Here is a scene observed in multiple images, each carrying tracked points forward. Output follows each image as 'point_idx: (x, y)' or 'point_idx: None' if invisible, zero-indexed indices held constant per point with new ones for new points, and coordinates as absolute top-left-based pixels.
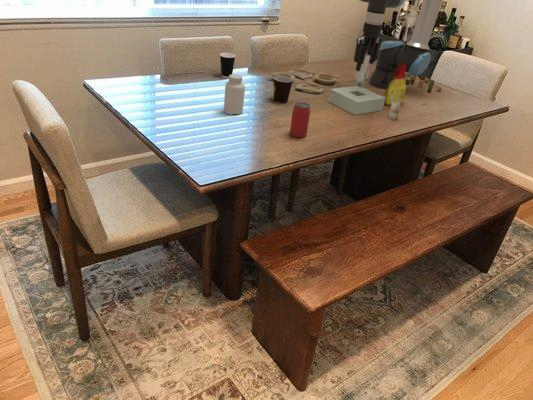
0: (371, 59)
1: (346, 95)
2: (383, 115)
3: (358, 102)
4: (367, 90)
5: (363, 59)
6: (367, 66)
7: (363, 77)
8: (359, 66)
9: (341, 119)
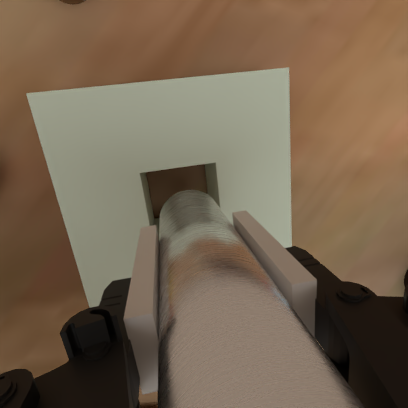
0: (112, 389)
1: (275, 182)
2: (100, 31)
3: (276, 69)
4: (81, 242)
5: (358, 343)
6: (204, 264)
7: (207, 210)
8: (319, 273)
9: (352, 49)
